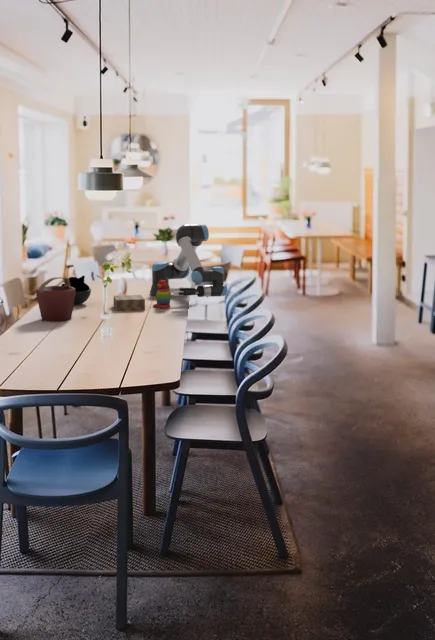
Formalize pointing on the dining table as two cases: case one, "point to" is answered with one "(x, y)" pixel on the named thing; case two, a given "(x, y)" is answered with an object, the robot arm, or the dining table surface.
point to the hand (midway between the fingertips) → (171, 291)
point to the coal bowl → (79, 289)
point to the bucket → (56, 301)
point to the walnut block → (129, 302)
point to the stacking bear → (162, 295)
